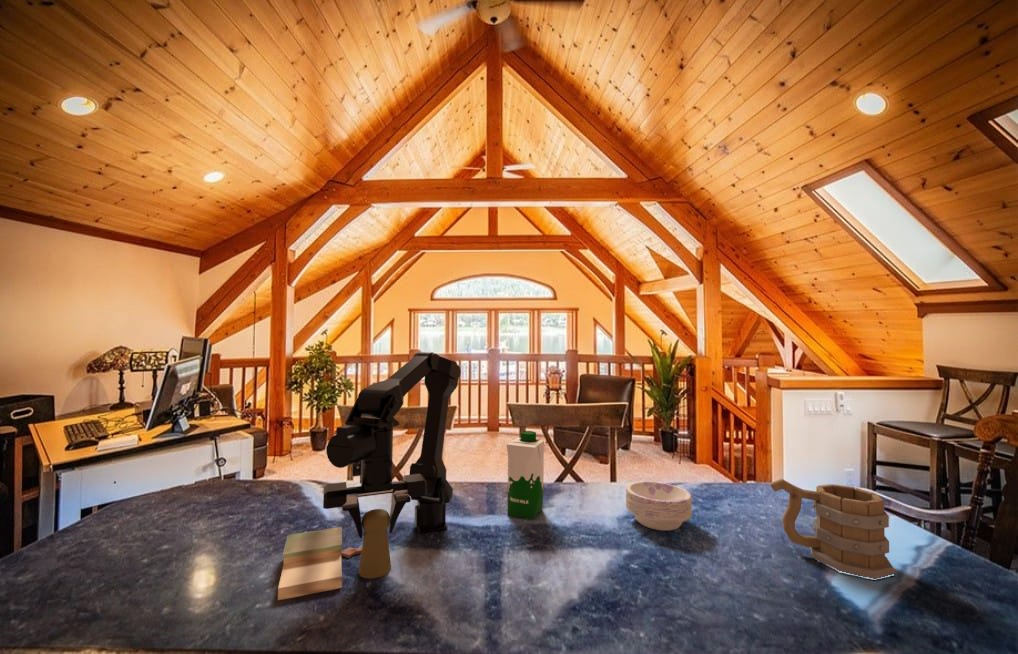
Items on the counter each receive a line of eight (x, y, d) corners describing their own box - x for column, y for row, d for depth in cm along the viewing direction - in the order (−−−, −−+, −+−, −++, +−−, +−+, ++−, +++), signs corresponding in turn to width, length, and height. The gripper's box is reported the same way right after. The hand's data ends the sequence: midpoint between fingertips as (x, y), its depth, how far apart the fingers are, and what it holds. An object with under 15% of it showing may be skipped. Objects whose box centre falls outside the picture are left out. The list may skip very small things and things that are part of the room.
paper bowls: (675, 510, 111) (675, 479, 111) (703, 537, 96) (703, 501, 96) (618, 510, 110) (618, 479, 111) (637, 537, 95) (637, 501, 96)
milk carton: (546, 508, 111) (547, 432, 111) (535, 522, 102) (536, 439, 103) (515, 503, 114) (516, 429, 115) (502, 516, 106) (503, 436, 106)
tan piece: (371, 541, 92) (371, 522, 92) (378, 580, 77) (378, 558, 77) (287, 555, 86) (287, 535, 86) (277, 600, 71) (277, 576, 71)
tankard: (880, 556, 88) (879, 483, 88) (901, 587, 77) (900, 504, 77) (768, 534, 97) (767, 469, 98) (772, 559, 86) (772, 485, 87)
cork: (381, 580, 77) (382, 519, 78) (351, 576, 78) (353, 516, 79) (396, 563, 83) (397, 506, 83) (368, 559, 84) (370, 504, 85)
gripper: (418, 439, 92) (417, 511, 92) (325, 447, 85) (323, 525, 85) (428, 452, 82) (427, 533, 82) (324, 462, 75) (322, 551, 75)
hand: (375, 535), depth 81 cm, fingers closed on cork, 5 cm apart
